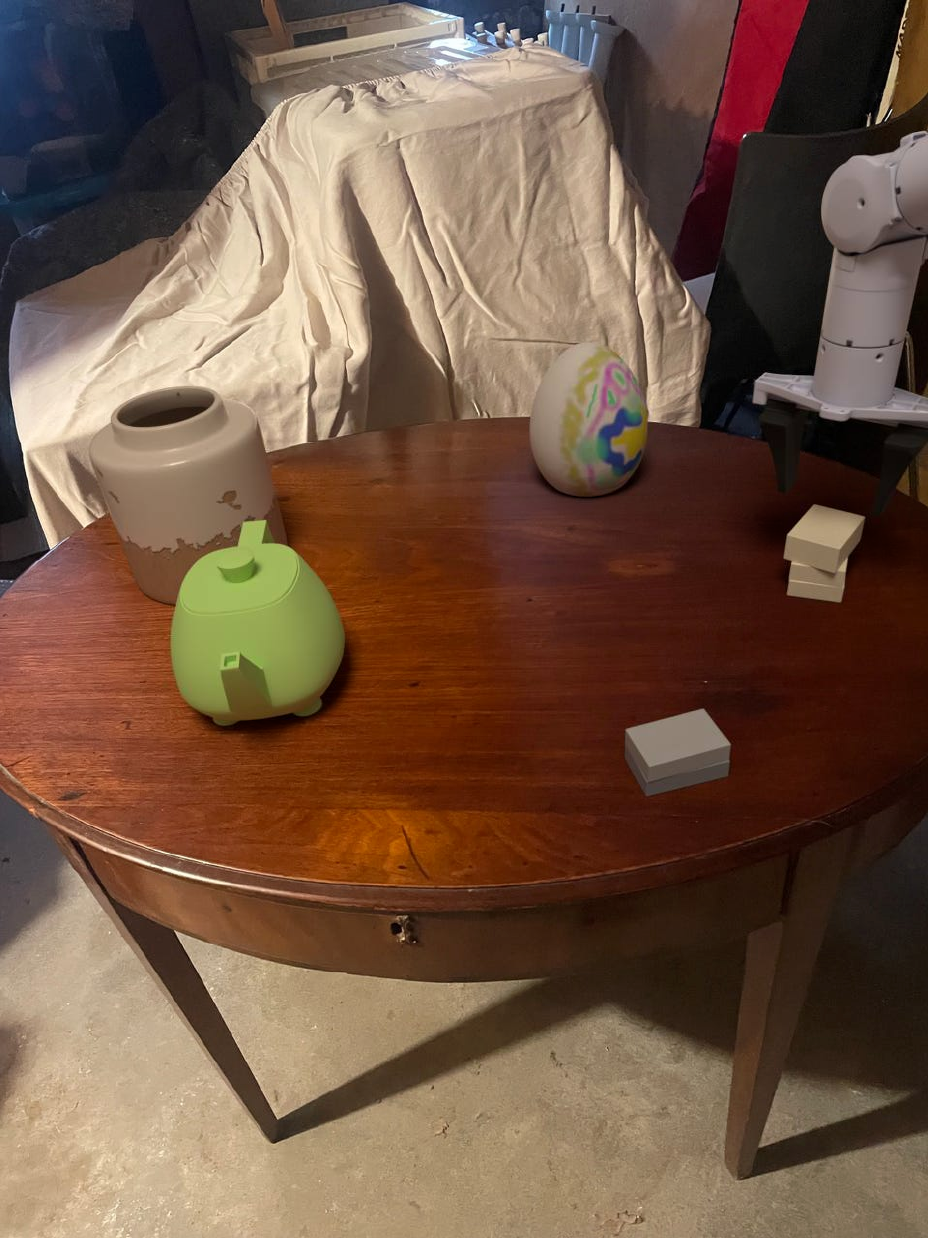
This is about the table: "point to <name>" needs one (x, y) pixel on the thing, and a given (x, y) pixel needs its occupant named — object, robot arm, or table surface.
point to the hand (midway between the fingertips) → (831, 498)
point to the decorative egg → (588, 422)
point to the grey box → (677, 752)
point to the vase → (182, 481)
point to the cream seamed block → (816, 582)
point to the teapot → (254, 632)
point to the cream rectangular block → (824, 538)
